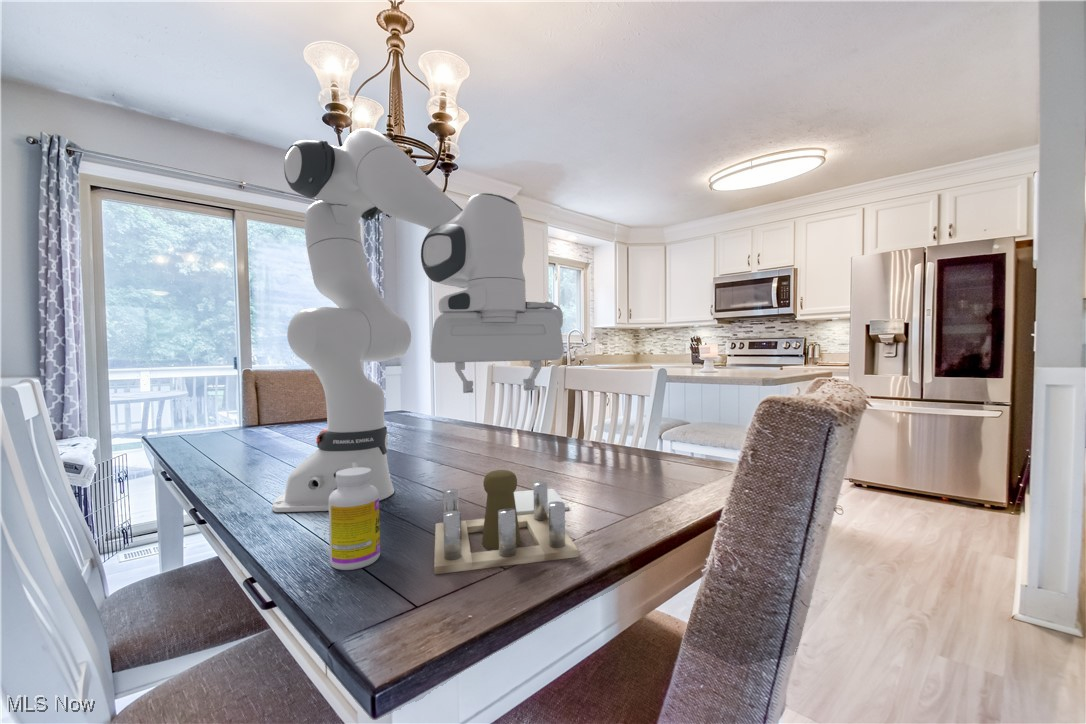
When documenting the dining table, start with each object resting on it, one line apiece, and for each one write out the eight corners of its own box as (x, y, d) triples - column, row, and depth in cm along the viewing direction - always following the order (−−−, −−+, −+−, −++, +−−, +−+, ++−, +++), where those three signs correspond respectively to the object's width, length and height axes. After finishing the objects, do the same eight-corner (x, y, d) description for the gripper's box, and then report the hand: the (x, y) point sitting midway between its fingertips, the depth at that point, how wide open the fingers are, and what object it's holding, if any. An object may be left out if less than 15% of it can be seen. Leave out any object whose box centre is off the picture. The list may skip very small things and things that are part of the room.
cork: (523, 534, 72) (522, 466, 72) (517, 551, 66) (516, 476, 66) (486, 534, 73) (485, 466, 73) (477, 550, 67) (476, 476, 67)
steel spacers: (444, 564, 60) (443, 520, 60) (443, 523, 75) (442, 487, 75) (569, 550, 64) (568, 508, 64) (544, 513, 79) (544, 479, 79)
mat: (504, 516, 81) (504, 512, 81) (496, 496, 93) (496, 493, 93) (568, 510, 84) (568, 506, 84) (553, 491, 95) (552, 488, 95)
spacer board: (434, 574, 60) (434, 566, 60) (435, 529, 75) (435, 523, 75) (578, 556, 64) (578, 549, 64) (551, 517, 80) (551, 512, 80)
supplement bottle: (384, 564, 63) (382, 472, 63) (332, 576, 60) (330, 480, 59) (375, 547, 69) (374, 463, 69) (327, 557, 65) (325, 469, 65)
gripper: (557, 304, 75) (559, 387, 75) (430, 303, 70) (432, 392, 70) (567, 299, 68) (569, 390, 69) (429, 298, 64) (431, 395, 64)
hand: (499, 391), depth 69 cm, fingers open, 8 cm apart
